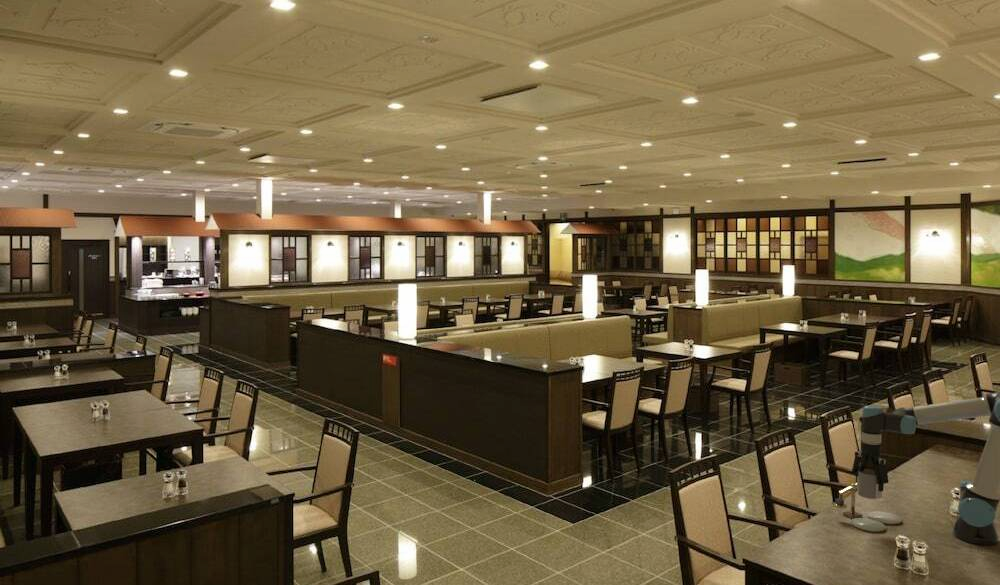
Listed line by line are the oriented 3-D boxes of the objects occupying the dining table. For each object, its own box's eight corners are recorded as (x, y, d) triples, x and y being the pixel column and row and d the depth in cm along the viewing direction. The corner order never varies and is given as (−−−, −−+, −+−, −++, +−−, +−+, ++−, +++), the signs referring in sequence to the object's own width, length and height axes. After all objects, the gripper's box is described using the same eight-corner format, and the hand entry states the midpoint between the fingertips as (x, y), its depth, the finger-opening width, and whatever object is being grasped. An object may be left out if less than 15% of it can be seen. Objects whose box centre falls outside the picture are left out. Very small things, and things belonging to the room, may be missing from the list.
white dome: (908, 522, 296) (908, 519, 296) (887, 526, 291) (887, 524, 291) (881, 512, 308) (881, 509, 308) (861, 516, 303) (861, 513, 303)
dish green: (892, 529, 288) (892, 527, 288) (870, 534, 283) (870, 531, 283) (865, 518, 300) (865, 516, 300) (844, 523, 295) (844, 520, 295)
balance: (864, 510, 310) (865, 476, 309) (875, 514, 305) (876, 479, 304) (829, 517, 301) (830, 481, 300) (839, 521, 296) (841, 485, 295)
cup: (882, 499, 286) (883, 476, 285) (861, 498, 287) (862, 474, 287) (876, 492, 294) (877, 470, 293) (855, 491, 296) (856, 468, 295)
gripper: (900, 448, 281) (897, 501, 282) (855, 435, 300) (853, 485, 302) (887, 450, 278) (885, 504, 279) (843, 436, 298) (841, 487, 299)
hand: (868, 494), depth 291 cm, fingers closed on cup, 8 cm apart
